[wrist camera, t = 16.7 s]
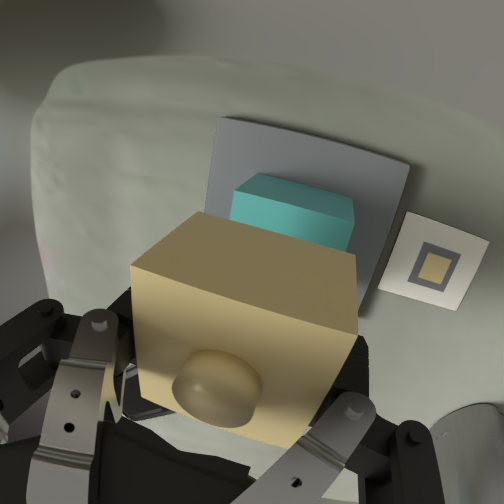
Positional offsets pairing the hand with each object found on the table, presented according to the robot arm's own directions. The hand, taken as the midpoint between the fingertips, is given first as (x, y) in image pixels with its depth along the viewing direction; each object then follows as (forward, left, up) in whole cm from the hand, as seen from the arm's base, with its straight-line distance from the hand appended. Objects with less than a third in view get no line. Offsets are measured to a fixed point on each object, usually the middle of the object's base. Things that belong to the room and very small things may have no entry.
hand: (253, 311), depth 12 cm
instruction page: (-11, 0, -10) cm, 15 cm away
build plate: (0, 0, -10) cm, 10 cm away
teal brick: (0, 0, -9) cm, 9 cm away
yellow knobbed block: (0, 0, -1) cm, 1 cm away
